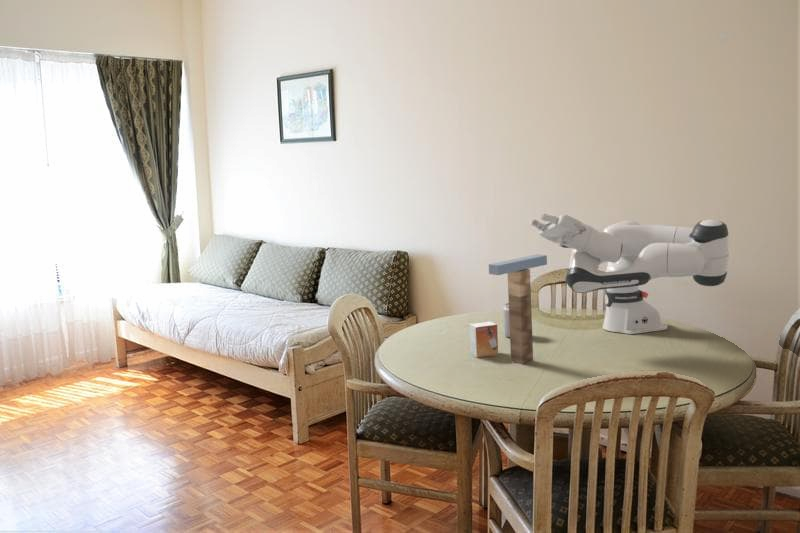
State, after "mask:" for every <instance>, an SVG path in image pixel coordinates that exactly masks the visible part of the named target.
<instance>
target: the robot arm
mask: <svg viewBox="0 0 800 533" xmlns="http://www.w3.org/2000/svg"><path fill="white" fill-rule="evenodd" d="M540 219H541V220H542V221H543V222H546V223H541V222H540V221H539V220H537V219H532V221H531V224H530V225H531V226H533V227H535V228H536V229H537V230H539V236H541V237H542V238H544V239H546V240H547V241H550V242H551V243H555V244H557V245H559V247H561V248H564V249H571V253H570V258H569V263H568V269H567V272H566V276H565V283H566V285H567V286H568V287H569V288H570V289H571V290H572V291H574V292H575V293H579V294H585V293H590V292H594V291H601V290H605V292H604V293H605V294H604V303H605V314H604V319H603V323H602V329H603V330H605V331H608V332H613V333H622V334H626V335H635V334H643V333H651V332H660V331H665V330H668V324H667V323H666V322H664V321H662V319H661V315H660V312H659V310H658V309H657V308H656V307H655V306H653V305H652V304H650V303H649V302H647V301H646V300H644V298H645V299H647V298H648V296H649V293H648V292H647V291H643V290H640V289H639V287H640V286H643V285H646V284H647V283H648V282H649V281H652V280H655V279H658V278H682V277H691V276H692V278H693V281H694V282H696V284H698V285H700V286H704V287H716V286H720V285H722V284H723V283H725V281H726V278H727V275H728V271H727V269H728V264H729V257H730V256H729V254H730V253H729V240H728V239H729V238H728V236H729V229H728V227H727V224H726V223H725V222H724V221H721V220H716V219H705V220H700V221H699V222H697V223H696V224H695V225H694V227H687V226H680V225H677V226H676V225H664V224H640V223H638V222H637V221H634V220H631V219H630V220H629V219H625V220H621V221H619V222H616V223H614V224H610V225H608V226H606V227H605V228H604V230H600V229H599V230H598V229H596V228H594V227H593V226H591V225H589V224H588V223H584V222H582V221H580V220H578V219H576V218H574V217H572V216H570V215H567V214H560V215H559V216H555V215H549V214H547V213H543V214H542V215H541V218H540ZM607 262H608V263H607ZM603 263H607V265H606V270H605V272H599V267H600V265H602V264H603Z"/></svg>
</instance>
